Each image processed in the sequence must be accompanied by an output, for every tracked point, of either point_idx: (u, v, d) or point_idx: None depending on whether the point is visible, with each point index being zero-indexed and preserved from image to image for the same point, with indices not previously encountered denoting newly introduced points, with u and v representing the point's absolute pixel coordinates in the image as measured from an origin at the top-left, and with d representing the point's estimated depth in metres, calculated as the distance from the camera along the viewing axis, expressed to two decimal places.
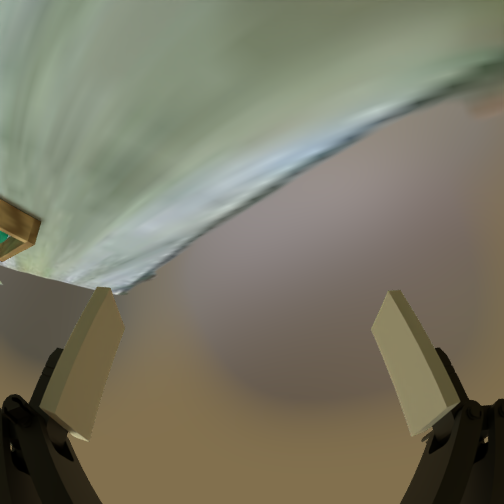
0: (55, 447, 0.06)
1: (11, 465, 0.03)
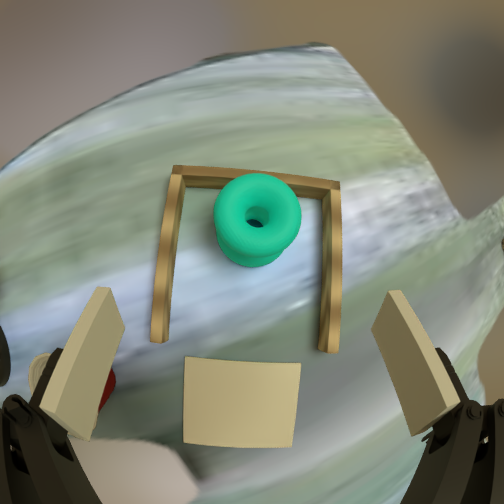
0: (55, 447, 0.06)
1: (11, 465, 0.03)
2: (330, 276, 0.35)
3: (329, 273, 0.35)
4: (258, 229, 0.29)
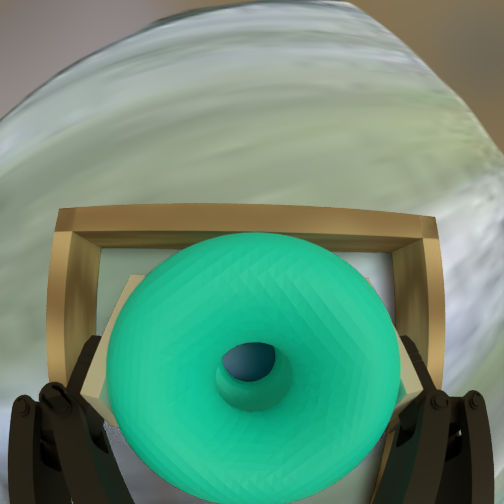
0: (90, 437, 0.06)
1: (39, 461, 0.04)
2: None
3: None
4: (261, 449, 0.07)
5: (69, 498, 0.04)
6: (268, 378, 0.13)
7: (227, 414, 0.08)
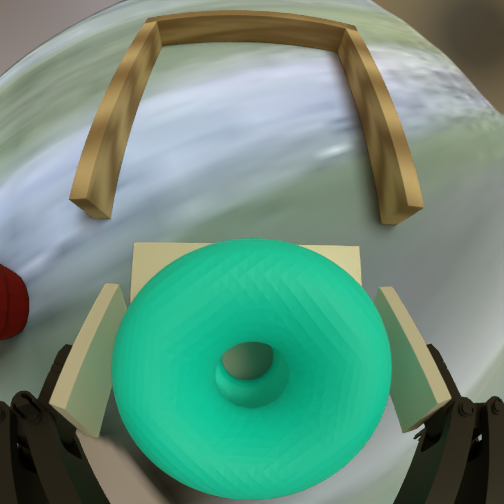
0: (63, 444, 0.06)
1: (18, 463, 0.04)
2: (375, 99, 0.18)
3: (371, 99, 0.19)
4: (259, 443, 0.07)
5: None
6: (266, 376, 0.14)
7: (226, 410, 0.08)
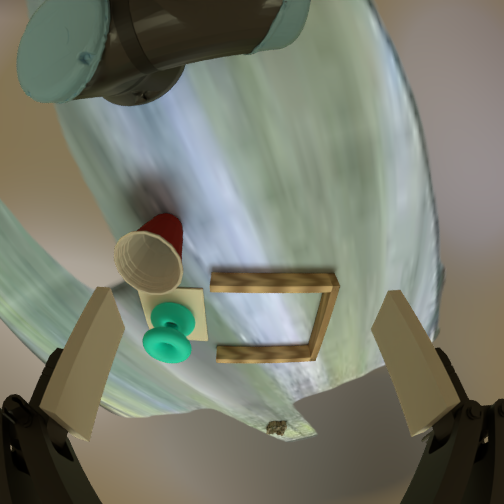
0: (55, 447, 0.06)
1: (11, 465, 0.03)
2: (259, 358, 0.60)
3: (261, 356, 0.61)
4: (156, 348, 0.49)
5: None
6: None
7: None
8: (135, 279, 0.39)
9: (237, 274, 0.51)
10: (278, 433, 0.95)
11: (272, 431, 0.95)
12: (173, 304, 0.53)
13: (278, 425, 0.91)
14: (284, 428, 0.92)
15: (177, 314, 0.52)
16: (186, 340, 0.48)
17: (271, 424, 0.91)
